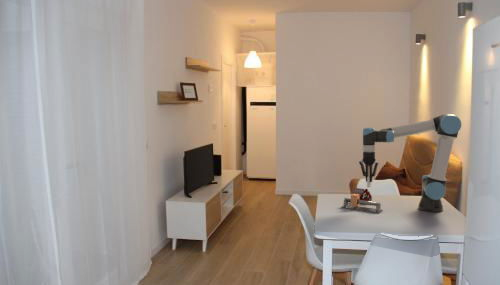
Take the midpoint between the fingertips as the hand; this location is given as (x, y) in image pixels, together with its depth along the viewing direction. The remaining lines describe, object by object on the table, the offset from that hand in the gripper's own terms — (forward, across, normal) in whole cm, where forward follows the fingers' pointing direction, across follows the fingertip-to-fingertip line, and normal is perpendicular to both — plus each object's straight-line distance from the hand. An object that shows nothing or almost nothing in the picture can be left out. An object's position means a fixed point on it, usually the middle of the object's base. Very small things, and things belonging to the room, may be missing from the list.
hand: (369, 186), depth 288 cm
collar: (+14, +10, 0) cm, 17 cm away
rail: (+16, +5, 0) cm, 17 cm away
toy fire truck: (+16, +11, -18) cm, 26 cm away
